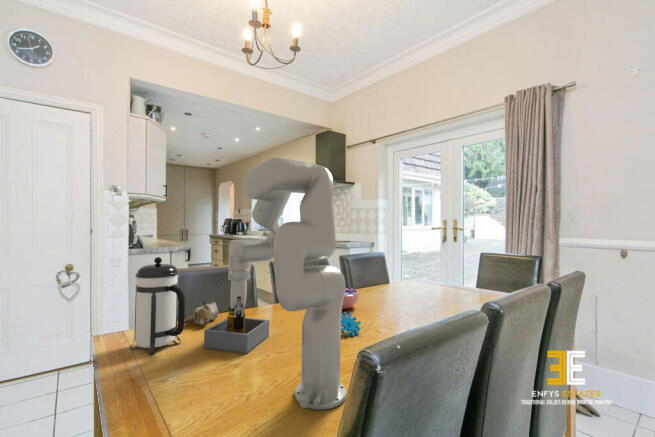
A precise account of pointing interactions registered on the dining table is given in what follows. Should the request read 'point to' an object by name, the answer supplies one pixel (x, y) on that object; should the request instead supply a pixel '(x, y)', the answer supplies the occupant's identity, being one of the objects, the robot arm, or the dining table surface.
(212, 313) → the ceramic sculpture
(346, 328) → the blue gear toy
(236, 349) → the bin
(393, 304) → the dining table surface
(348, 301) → the cell model
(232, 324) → the condiment
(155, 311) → the coffee press
